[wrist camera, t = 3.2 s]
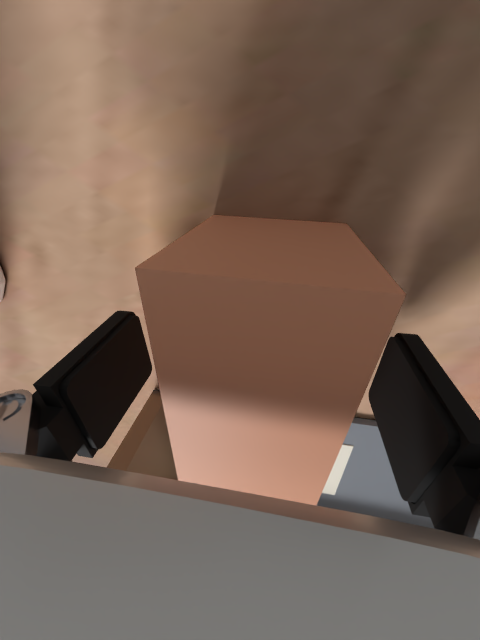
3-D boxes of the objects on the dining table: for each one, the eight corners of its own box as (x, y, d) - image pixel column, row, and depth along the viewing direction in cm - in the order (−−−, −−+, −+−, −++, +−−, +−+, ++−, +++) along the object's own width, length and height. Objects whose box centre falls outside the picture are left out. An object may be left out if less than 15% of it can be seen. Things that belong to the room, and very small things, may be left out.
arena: (558, 445, 13) (686, 583, 9) (448, 542, 20) (490, 644, 16) (153, 389, 16) (105, 469, 12) (181, 489, 23) (156, 561, 19)
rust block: (346, 222, 9) (406, 294, 4) (305, 391, 14) (311, 517, 9) (214, 214, 10) (135, 267, 5) (218, 378, 15) (179, 488, 10)
